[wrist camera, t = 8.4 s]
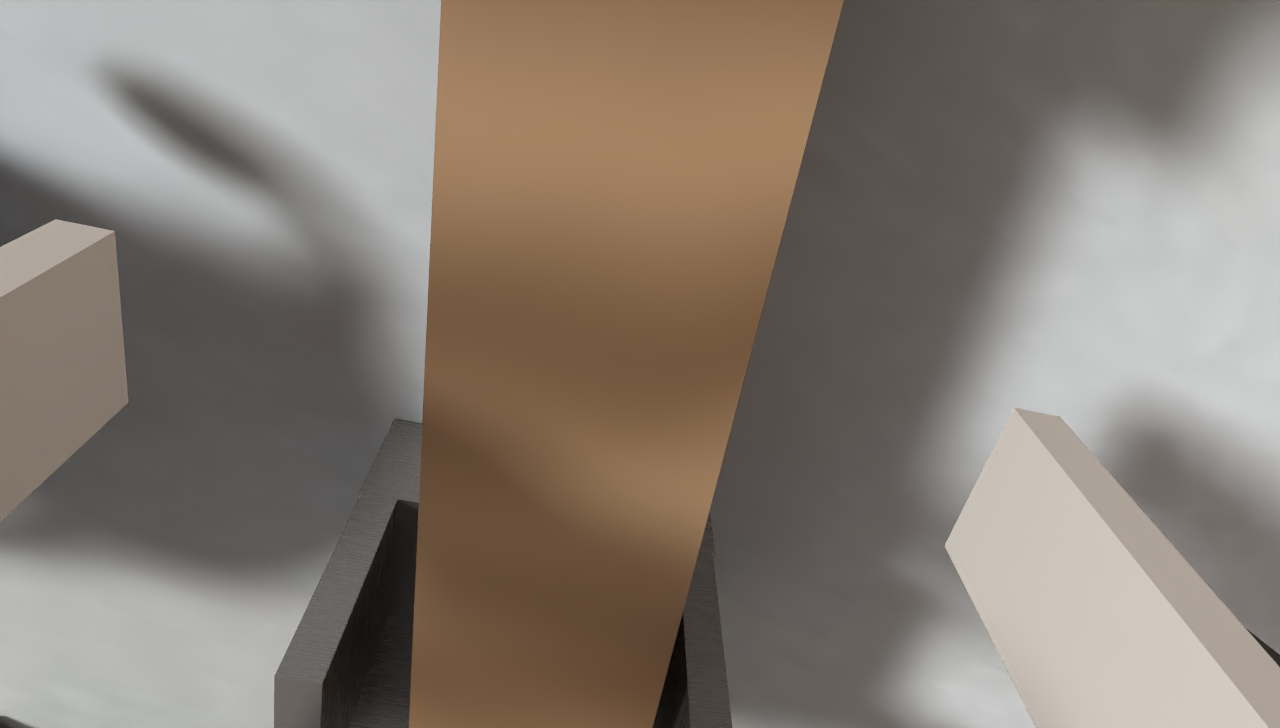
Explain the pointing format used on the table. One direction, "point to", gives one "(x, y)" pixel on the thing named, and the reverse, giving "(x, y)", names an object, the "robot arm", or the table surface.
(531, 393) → the rail
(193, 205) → the table surface
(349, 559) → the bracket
